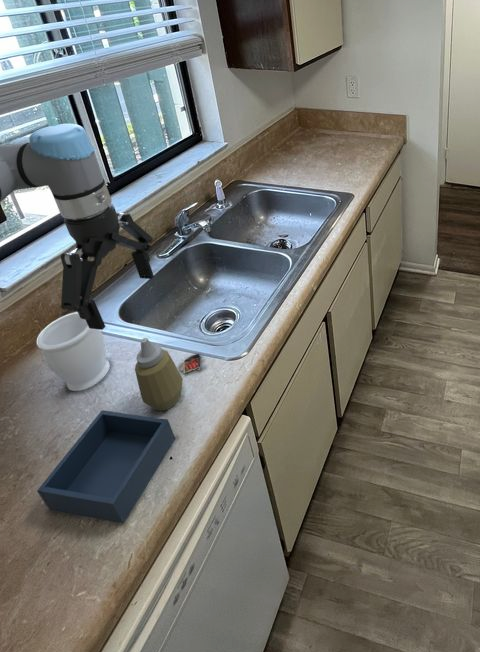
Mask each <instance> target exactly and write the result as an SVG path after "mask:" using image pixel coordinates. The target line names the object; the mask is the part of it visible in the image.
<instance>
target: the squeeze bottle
mask: <svg viewBox="0 0 480 652" xmlns="http://www.w3.org/2000/svg"><path fill="white" fill-rule="evenodd" d="M135 359H136V361H137V362H136V363H135V366H134V373H135V376H136V380H137V384H138V389H139V393H140V398H141V400H142V402H143V403H144V404H146V405H147V406H148V407H150V408H151V409H153V410H154V411H157V412H163V411H167V410H169V409H171V408H172V407H174V406H175V405H176V404H177V403H178V402H179V400H180V398H181V396H182V388H183V381H184V380H183V376H182V375H181V373H180V371H179V369H178V367H177V366H176V364H175V362H174V360H173V358H172V357H171V355H170V352H169V351H168V350H166V349H164V348H163V347H162V346H161V345H160V344H157V343H156V344H155V343H152V342H151V341H150V340H149V339H148V338H147V337H144V338H142V339H141V340H140V350H139V352H138V353H137V355H136V358H135Z"/></svg>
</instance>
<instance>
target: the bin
mask: <svg viewBox="0 0 480 652" xmlns="http://www.w3.org/2000/svg"><path fill="white" fill-rule="evenodd" d="M175 441H176V436H175V433H174V431H173V428H172V426H171V424H170V422H169V419H166V418H160V417H154V416H153V417H152V416H146V415H140V414H132V413H131V414H130V413H126V412H125V413H124V412H117V411H112V410H111V411H110V410H103V409H102V410H101V411H100V412H99V413H98V414H97V415H96V416H95V418H94V419H93V420H92V421H91V423H90V424H89V425H88V427H87V428H86V429H85V430H84V432H83V433H82V434H81V436H80V437H78V439H77V440H76V441H75V442H74V444H73V445H72V447H71V448H70V449H69V450H68V451H67V453H66V454H65V455H64V456H63V458H62V459H61V460H60V462H59V463H58V464H57V465H56V466H55V468H54V469H52V471H51V472H50V473H49V475H48V476H47V477H46V478H45V480H44V481H43V482H42V484H41V485H40V486H39V488H38V489H37V490H36V492H37V494H38V495H39V497H40V498H41V499H42V501H43V502H44V504H45V506H46V507H47V508H48V510H49V511H51V512H56V513H62V514H69V515H73V516H79V517H85V518H90V519H94V520H95V519H96V520H100V521H107V522H112V523H117V524H122V525H124V524H125V523H126V521H127V519H128V517H129V516H130V514H131V513H132V511H133V509H134V508H135V506H136V504H137V503H138V501H139V500H140V499H141V496H142V494H143V493H144V491H146V488H147V486H148V485H149V483H150V481H151V479H152V478H153V477H154V475H155V473H156V471H157V470H158V468H159V466H160V465H161V463H162V462H163V460H164V459H165V457H166V455H167V453H168V452H169V450H170V449H171V447H172V446H173V444H174V442H175Z"/></svg>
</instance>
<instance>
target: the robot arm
mask: <svg viewBox="0 0 480 652" xmlns="http://www.w3.org/2000/svg"><path fill="white" fill-rule="evenodd" d="M28 139H29V142H20V143H9V144H0V203H1V202H3V201H4V200H5V199H6V198H7V197H8V196H9V195H11V194H12V193H13V192H15V191H17V190H25V189H26V190H27V189H33V188H41V187H42V188H43V187H48V188H49V190H50V192H51V194H52V197H53V199H54V202H55V204H56V207H57V209H58V211H59V214H60V217H62V218H63V222H64V226H65V227H66V230H67V233H68V235H69V236H70V237H71V238H72V239H73V240H74V241H75V249H73V250H72V251H70V252H62V253H61V254H60V260H61V264H62V284H61V300H60V303H61V304H60V309H61V310H64V311H73V312H78V314H79V316H80V318H81V319H85V320H86V322H87V324H88V326H89V328H91V329H100V330H101V331H103V330H104V329H105V328H107V327H106V324H105V322H104V320H103V317H102V315H101V313H100V310H99V308H98V305H97V303H96V301H95V299H91V296H92V292H93V288H94V284H95V279H96V277H97V276H96V275H97V272H98V267H99V266H101V265H102V262H103V259H104V258H106V256H108V254H109V253H110V252H111V251H114V250H115V249H116V246H121V247H124V248H128V249H130V250H134V251H131V257H132V260H133V262H134V265H135V268H136V271H137V273H138V276H139V278H140V279H145V280H146V279H147V280H153V279H154V278H155V275H154V273H153V270H152V266H151V264H150V261H151V258H150V255H149V251H151V250H152V246H151V243H152V242H153V240H154V238H153V237H152V236H151V235H150V234H149V233H148V232H147V231H145V230H144V228H142V227H141V226H140V225H138V224H137V223H136V222H135V221H134V219H133V217H132V215H131V213H127V212H117V211H116V207H115V205H114V203H112V197H111V194H110V192H109V190H108V187H107V184H106V181H105V178H104V176H103V172H102V170H101V167H100V164H99V161H98V158H97V155H96V153H95V152H96V151H95V147H94V146H93V144H92V142H91V140H90V138H89V136H88V133H87V132H86V129H85V128H84V127H83V126H81V125H79V124H75V123H59V124H56V125H49V126H45V127H41V128H39V129H37V130H35V131H33V132H32V133H31V134H30V136H29V138H28ZM120 228H121V229H123V230H124V231H125V232H126V233H127V234H129V235H130V236H131V237H132V238H134V239H135V240H134V239H131V238H129V237H127V236H125V235H121V234H120V230H121V229H120ZM89 258H91V259H93V260H89Z"/></svg>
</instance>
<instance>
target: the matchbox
mask: <svg viewBox="0 0 480 652" xmlns="http://www.w3.org/2000/svg"><path fill="white" fill-rule="evenodd" d="M179 369H180V371H181V372H182V371H183V373H184V374H186V373H189V372H191V371H195V370H197V371H200V370H201V369H202V357H201V355H200V354H199V353H196V354H193V355H191V356H188V357H187V358H185V359H184V360H183V362H182V363H181V364H180V365H179Z"/></svg>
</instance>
